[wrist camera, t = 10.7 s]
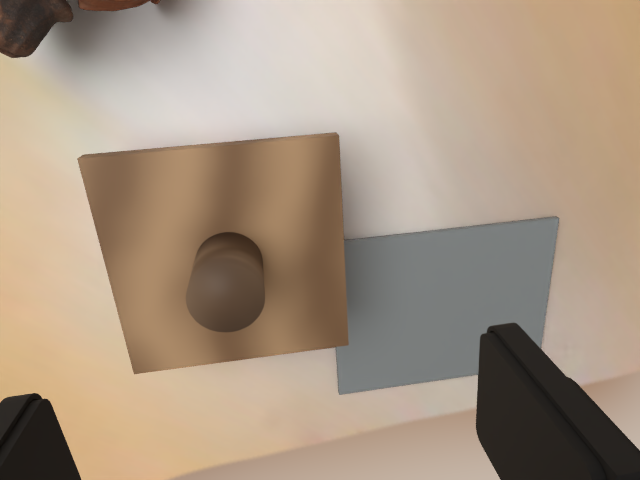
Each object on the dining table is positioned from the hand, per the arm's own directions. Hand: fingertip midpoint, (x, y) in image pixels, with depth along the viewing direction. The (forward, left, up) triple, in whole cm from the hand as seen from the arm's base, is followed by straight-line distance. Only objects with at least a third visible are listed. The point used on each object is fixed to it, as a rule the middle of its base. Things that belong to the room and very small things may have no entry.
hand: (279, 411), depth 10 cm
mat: (-13, +13, -24) cm, 31 cm away
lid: (+2, +4, -19) cm, 20 cm away
